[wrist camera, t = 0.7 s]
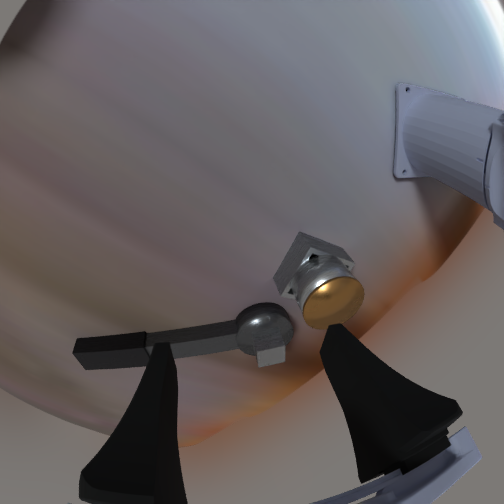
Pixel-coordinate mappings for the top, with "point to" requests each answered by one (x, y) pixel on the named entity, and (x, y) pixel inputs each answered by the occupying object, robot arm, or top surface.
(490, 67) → the top surface
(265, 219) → the top surface
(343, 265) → the socket
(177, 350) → the ratchet
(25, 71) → the top surface
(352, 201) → the top surface
